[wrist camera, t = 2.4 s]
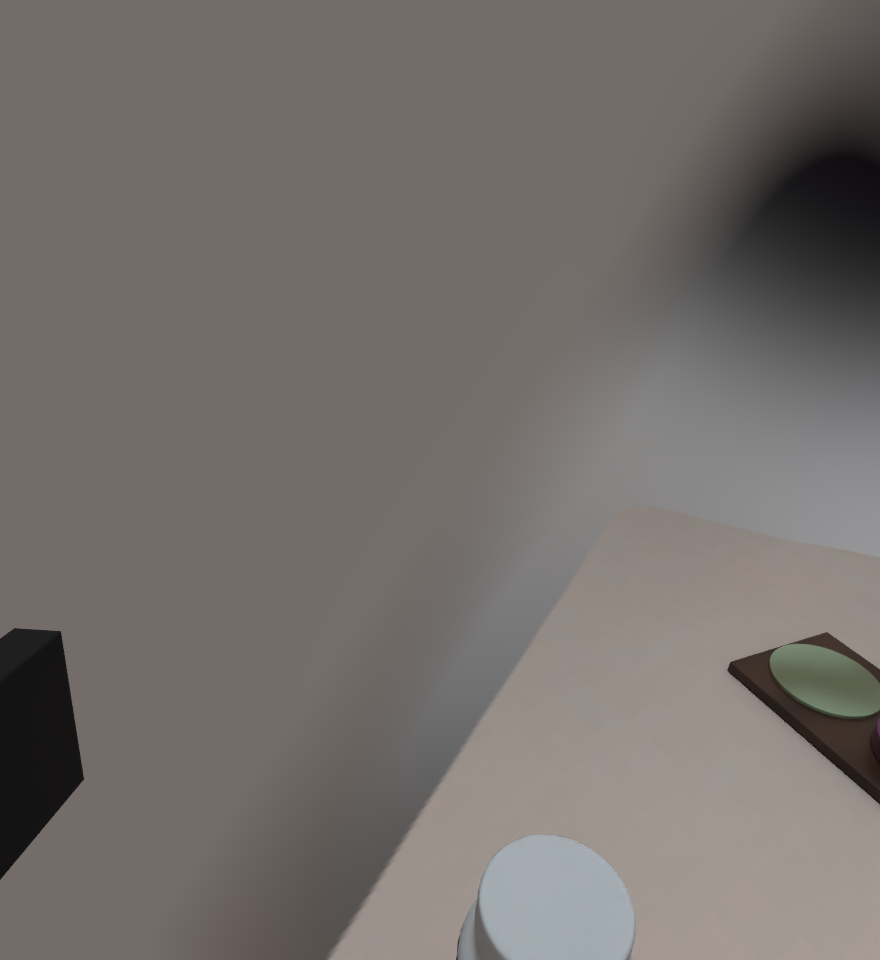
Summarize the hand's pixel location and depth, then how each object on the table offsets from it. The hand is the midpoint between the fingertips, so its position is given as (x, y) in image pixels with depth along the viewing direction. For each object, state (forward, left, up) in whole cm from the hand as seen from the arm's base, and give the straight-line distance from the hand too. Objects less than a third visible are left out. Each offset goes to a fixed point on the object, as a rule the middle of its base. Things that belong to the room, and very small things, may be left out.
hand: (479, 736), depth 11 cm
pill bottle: (0, +5, -18) cm, 19 cm away
